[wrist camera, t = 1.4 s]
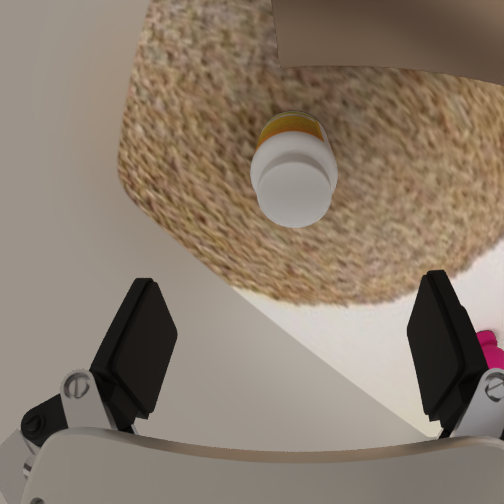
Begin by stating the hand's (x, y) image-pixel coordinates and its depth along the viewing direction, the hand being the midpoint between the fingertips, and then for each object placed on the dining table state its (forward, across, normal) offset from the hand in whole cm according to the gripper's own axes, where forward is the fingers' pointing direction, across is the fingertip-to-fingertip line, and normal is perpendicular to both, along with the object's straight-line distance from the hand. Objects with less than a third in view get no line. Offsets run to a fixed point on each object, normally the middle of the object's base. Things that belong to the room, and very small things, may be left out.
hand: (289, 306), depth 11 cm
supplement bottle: (+17, 0, 0) cm, 17 cm away
